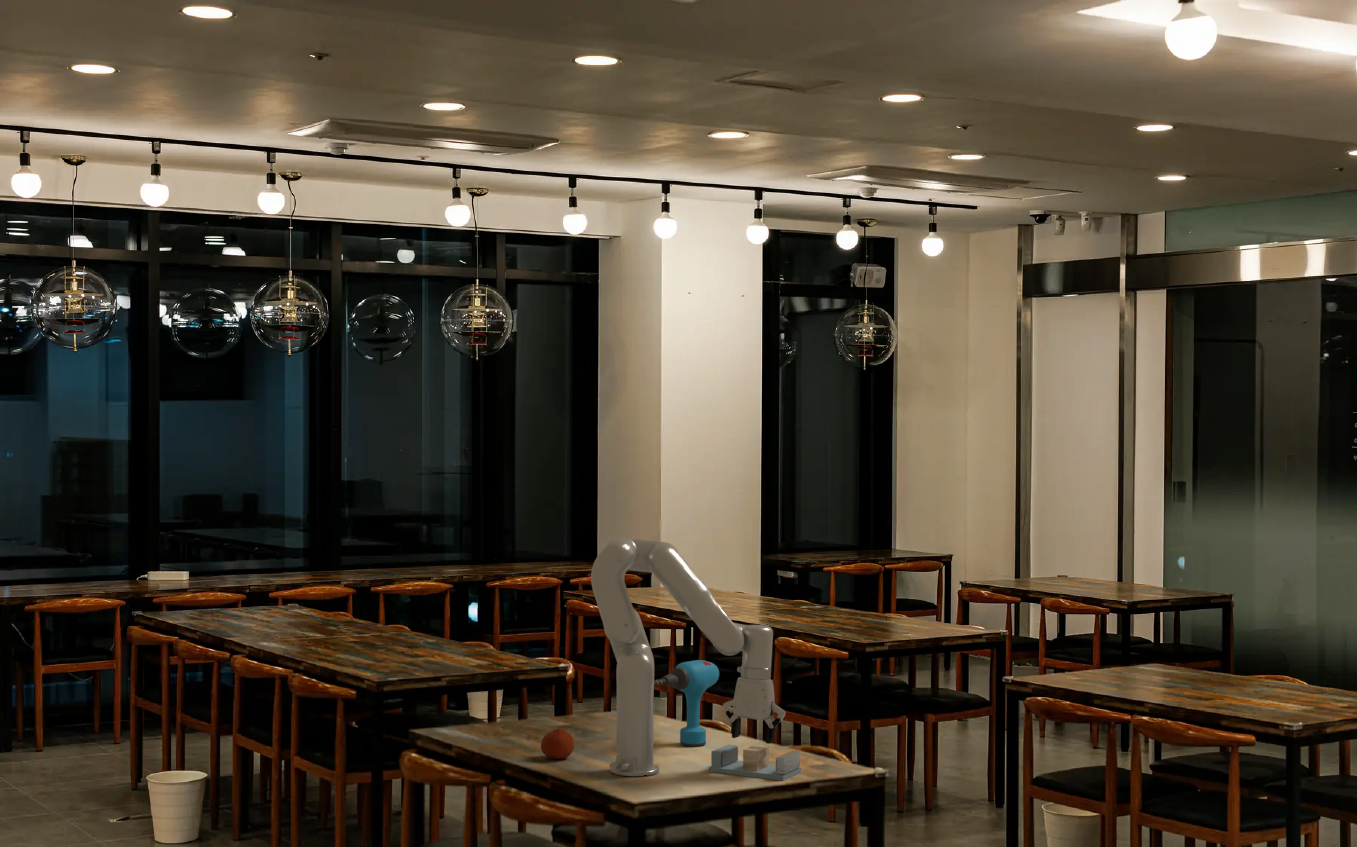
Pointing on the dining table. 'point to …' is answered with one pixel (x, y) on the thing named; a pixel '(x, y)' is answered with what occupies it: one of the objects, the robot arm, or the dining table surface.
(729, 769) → the vise
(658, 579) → the robot arm
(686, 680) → the power drill
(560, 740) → the fruit
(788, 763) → the block
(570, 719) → the dining table surface
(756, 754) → the block
